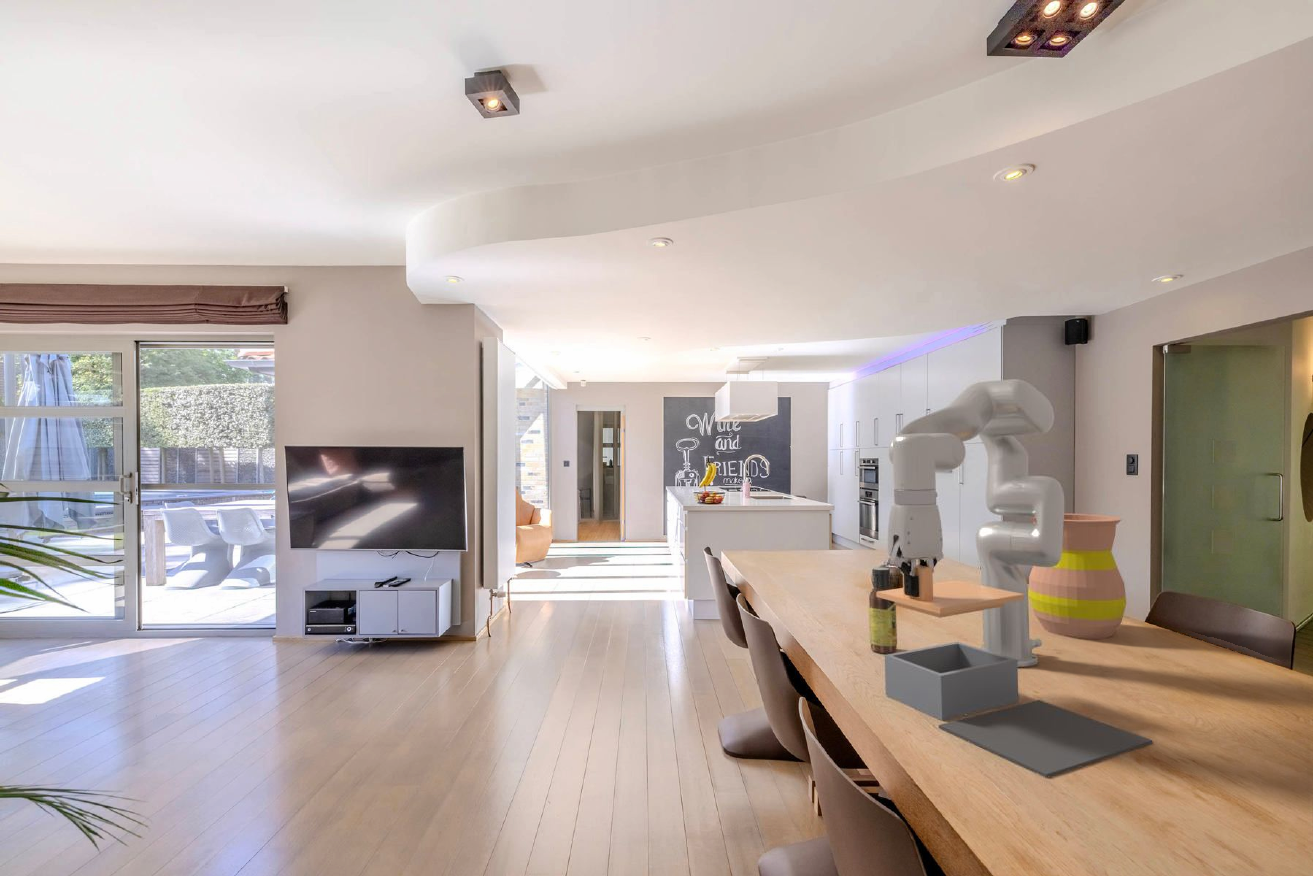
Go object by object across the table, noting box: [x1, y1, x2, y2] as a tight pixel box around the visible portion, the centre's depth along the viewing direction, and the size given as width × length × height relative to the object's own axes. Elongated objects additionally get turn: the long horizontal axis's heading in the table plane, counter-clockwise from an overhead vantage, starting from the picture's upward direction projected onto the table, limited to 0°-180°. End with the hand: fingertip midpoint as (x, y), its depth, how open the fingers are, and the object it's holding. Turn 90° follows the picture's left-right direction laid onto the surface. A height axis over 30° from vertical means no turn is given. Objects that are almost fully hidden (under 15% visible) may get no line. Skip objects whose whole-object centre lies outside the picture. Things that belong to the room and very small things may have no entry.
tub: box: [884, 641, 1020, 721], centre depth 131 cm, size 20×14×8 cm
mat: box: [938, 699, 1154, 778], centre depth 113 cm, size 26×20×1 cm
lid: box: [876, 563, 1024, 619], centre depth 131 cm, size 22×16×8 cm
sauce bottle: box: [868, 567, 898, 654], centre depth 163 cm, size 7×6×20 cm
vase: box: [1028, 513, 1127, 640], centre depth 177 cm, size 22×22×30 cm
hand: (918, 594), depth 128 cm, fingers closed on lid, 2 cm apart
